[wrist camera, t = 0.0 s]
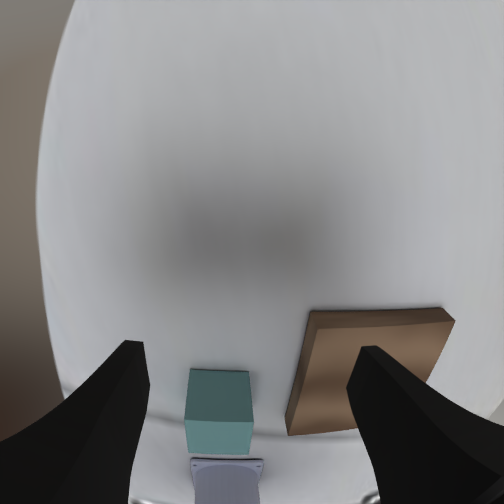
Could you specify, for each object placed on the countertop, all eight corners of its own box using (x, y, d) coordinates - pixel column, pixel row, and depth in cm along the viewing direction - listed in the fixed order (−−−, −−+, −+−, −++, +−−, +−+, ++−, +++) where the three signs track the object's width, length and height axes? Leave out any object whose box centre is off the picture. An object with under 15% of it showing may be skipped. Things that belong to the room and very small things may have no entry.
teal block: (244, 407, 24) (248, 454, 20) (192, 405, 24) (188, 452, 19) (248, 371, 22) (253, 422, 18) (189, 369, 22) (184, 419, 17)
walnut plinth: (396, 405, 26) (404, 419, 24) (284, 419, 25) (288, 435, 23) (443, 308, 22) (455, 320, 20) (310, 311, 21) (317, 328, 19)
